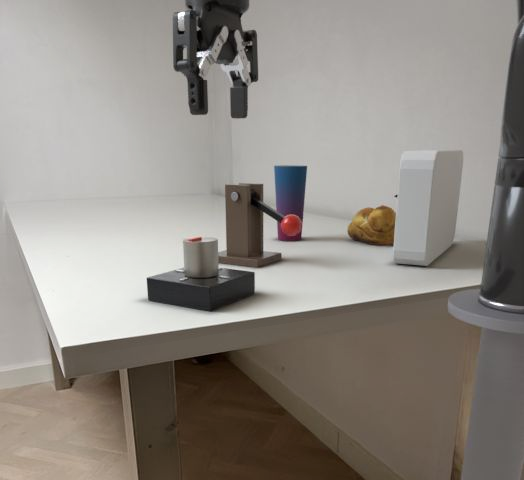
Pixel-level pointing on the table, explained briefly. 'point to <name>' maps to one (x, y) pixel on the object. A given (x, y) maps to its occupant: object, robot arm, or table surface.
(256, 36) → the robot arm
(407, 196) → the rounded white slab
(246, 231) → the brown lever stand
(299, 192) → the cup
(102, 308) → the table surface
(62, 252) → the table surface
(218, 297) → the black square base
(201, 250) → the knob
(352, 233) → the bread roll
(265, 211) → the lever
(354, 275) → the table surface
